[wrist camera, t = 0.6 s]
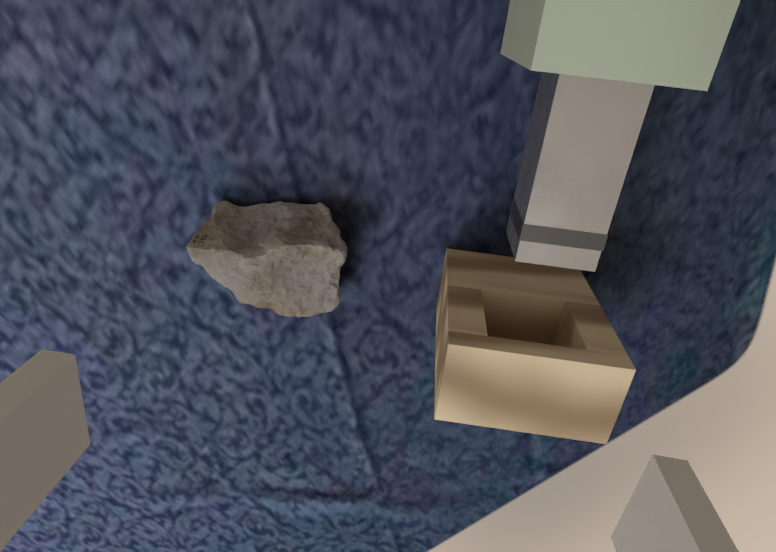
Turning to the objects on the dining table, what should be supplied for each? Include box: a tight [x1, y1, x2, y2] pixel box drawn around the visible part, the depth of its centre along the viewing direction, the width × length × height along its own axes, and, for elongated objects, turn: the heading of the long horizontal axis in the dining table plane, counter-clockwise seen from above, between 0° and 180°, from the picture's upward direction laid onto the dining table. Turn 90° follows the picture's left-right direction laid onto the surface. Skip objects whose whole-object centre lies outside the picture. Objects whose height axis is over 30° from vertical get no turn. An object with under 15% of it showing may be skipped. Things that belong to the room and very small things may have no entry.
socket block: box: [434, 248, 636, 444], centre depth 31 cm, size 5×9×12 cm, turn 84°
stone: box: [186, 201, 347, 317], centre depth 34 cm, size 8×10×6 cm
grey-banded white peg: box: [506, 72, 655, 272], centre depth 22 cm, size 18×4×4 cm, turn 174°
